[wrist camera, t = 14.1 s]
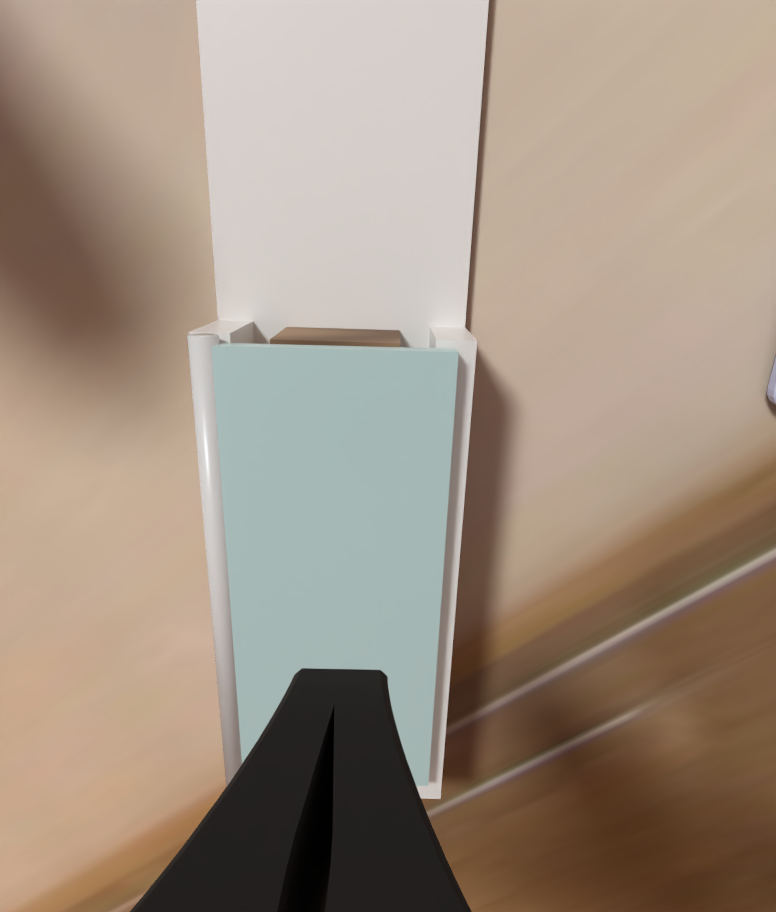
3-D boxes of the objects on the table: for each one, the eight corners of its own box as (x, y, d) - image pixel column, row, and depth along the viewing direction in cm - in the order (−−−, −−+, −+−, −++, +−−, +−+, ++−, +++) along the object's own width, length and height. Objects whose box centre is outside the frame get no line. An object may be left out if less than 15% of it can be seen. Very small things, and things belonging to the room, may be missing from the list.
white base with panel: (499, -173, 13) (527, -279, 10) (434, 732, 22) (440, 798, 19) (188, -183, 13) (135, -293, 10) (248, 727, 22) (228, 792, 19)
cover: (455, 339, 14) (459, 344, 13) (426, 774, 19) (428, 793, 18) (192, 333, 14) (183, 337, 13) (229, 774, 19) (224, 793, 18)
